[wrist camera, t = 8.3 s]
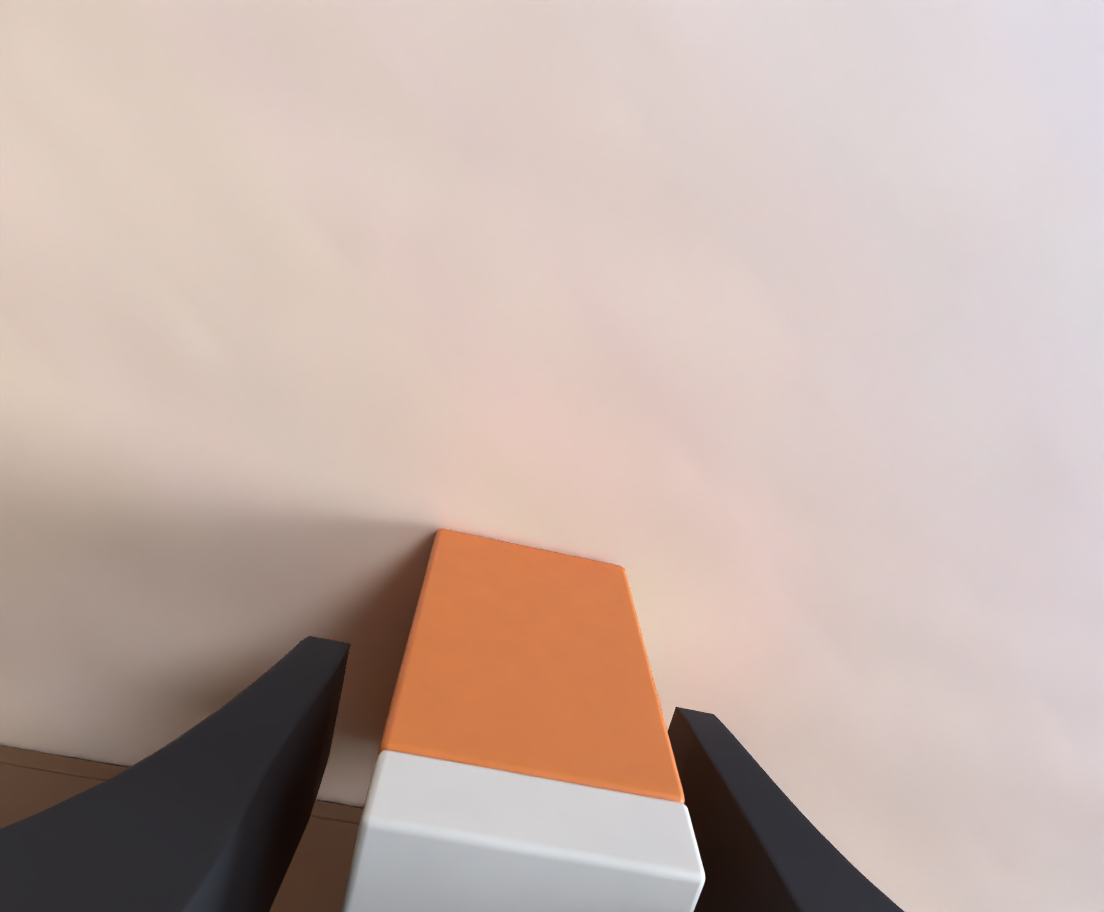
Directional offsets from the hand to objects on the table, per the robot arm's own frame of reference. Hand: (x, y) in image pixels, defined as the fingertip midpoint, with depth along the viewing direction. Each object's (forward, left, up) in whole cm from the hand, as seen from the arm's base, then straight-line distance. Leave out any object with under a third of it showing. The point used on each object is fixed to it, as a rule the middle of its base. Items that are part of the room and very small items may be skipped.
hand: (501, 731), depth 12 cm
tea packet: (0, 0, -2) cm, 2 cm away
